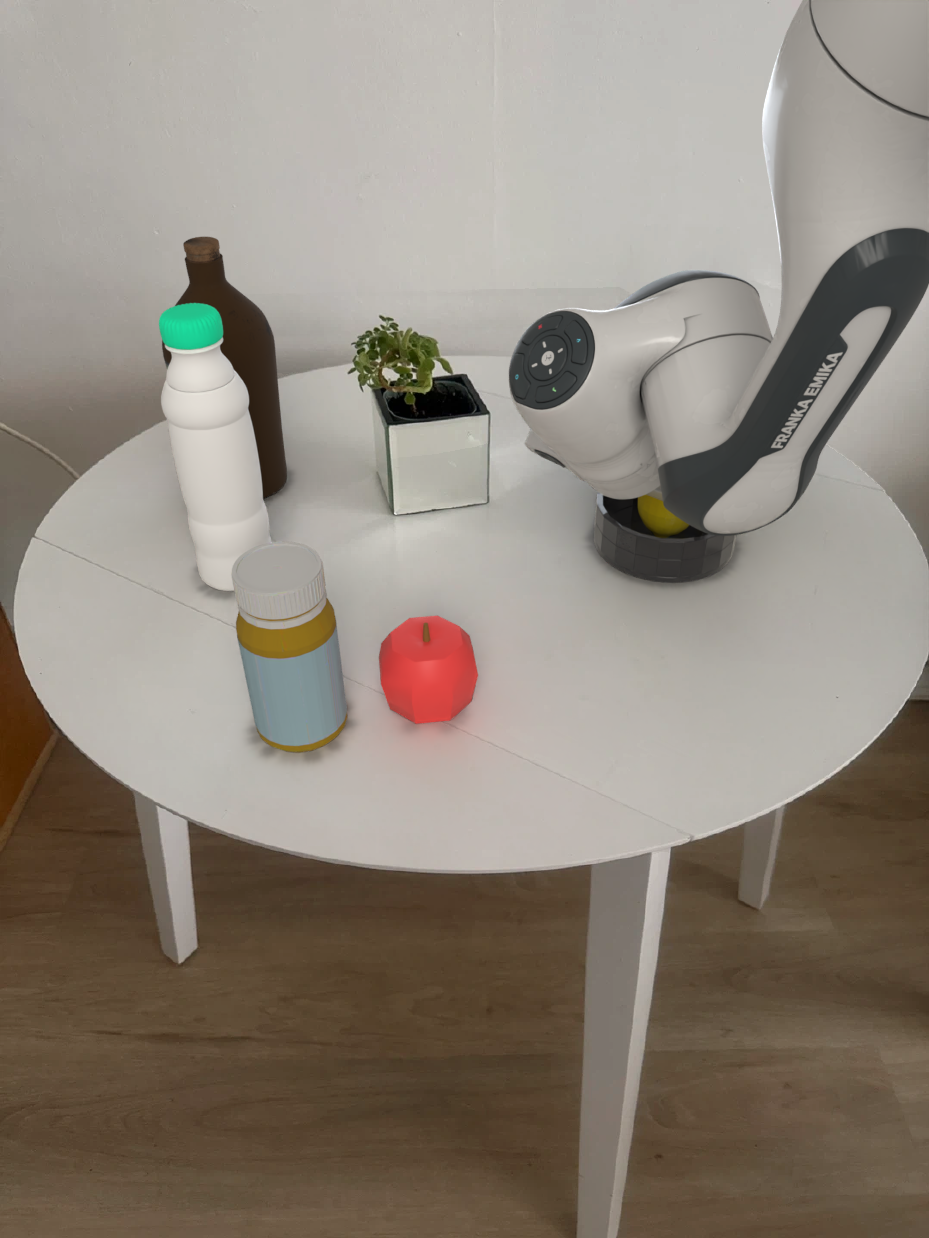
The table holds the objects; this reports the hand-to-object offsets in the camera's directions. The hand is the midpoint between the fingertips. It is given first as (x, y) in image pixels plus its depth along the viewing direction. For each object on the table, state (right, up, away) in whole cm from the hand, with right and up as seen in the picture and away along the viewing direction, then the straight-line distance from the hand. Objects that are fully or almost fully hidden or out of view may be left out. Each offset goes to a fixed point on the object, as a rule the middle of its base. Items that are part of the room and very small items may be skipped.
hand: (671, 495), depth 93 cm
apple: (-22, -18, -14) cm, 32 cm away
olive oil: (-43, +3, +13) cm, 45 cm away
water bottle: (-40, -7, 0) cm, 41 cm away
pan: (0, -4, +3) cm, 5 cm away
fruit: (0, -4, +2) cm, 5 cm away
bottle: (-32, -20, -16) cm, 41 cm away
